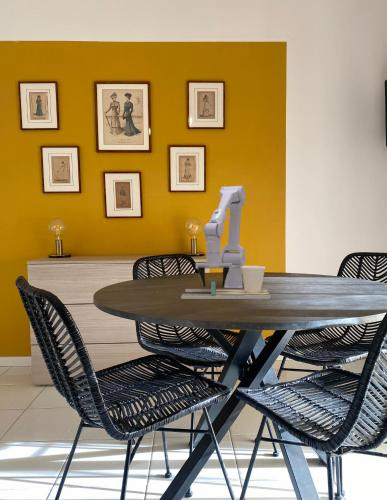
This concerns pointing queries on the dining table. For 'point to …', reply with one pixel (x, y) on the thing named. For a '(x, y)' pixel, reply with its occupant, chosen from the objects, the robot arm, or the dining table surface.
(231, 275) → the robot arm
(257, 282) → the cup
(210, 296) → the lane rails
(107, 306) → the dining table surface
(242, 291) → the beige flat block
